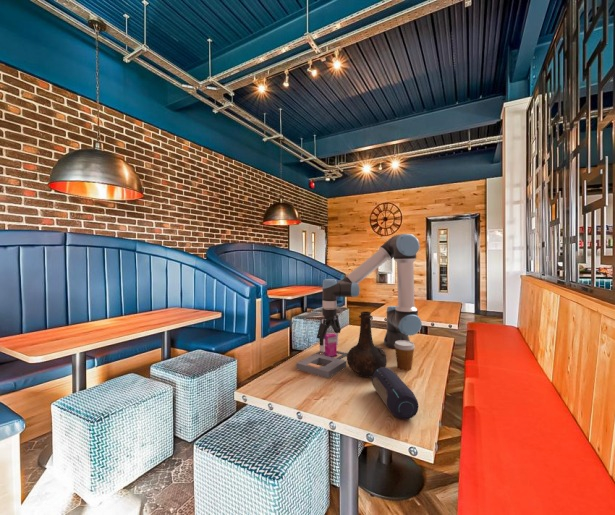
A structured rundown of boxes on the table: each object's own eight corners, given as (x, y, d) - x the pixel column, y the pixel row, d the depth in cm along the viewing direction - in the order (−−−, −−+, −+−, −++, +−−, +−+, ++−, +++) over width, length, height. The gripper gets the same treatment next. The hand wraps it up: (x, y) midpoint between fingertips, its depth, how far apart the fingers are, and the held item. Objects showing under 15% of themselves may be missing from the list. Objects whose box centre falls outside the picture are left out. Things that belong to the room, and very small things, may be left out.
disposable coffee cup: (396, 362, 148) (396, 338, 148) (416, 366, 143) (416, 341, 143) (391, 369, 140) (391, 344, 140) (412, 373, 135) (412, 347, 135)
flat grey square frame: (348, 354, 161) (348, 353, 161) (334, 362, 149) (334, 361, 149) (325, 349, 170) (325, 348, 170) (310, 356, 158) (310, 355, 158)
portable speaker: (369, 389, 121) (369, 364, 120) (393, 387, 122) (393, 363, 121) (392, 425, 96) (391, 394, 95) (421, 423, 97) (422, 392, 96)
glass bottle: (382, 384, 124) (382, 317, 124) (341, 377, 132) (341, 314, 131) (389, 369, 140) (389, 310, 140) (352, 363, 148) (352, 307, 147)
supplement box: (322, 354, 161) (322, 333, 161) (331, 353, 163) (331, 332, 163) (327, 358, 156) (327, 336, 155) (337, 356, 158) (337, 334, 158)
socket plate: (346, 367, 143) (346, 360, 143) (328, 378, 130) (328, 371, 130) (315, 359, 154) (315, 352, 154) (296, 369, 141) (296, 362, 141)
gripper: (335, 304, 171) (335, 340, 172) (310, 311, 151) (309, 352, 151) (347, 305, 167) (346, 343, 167) (322, 312, 147) (322, 355, 147)
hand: (329, 347), depth 159 cm, fingers open, 13 cm apart
